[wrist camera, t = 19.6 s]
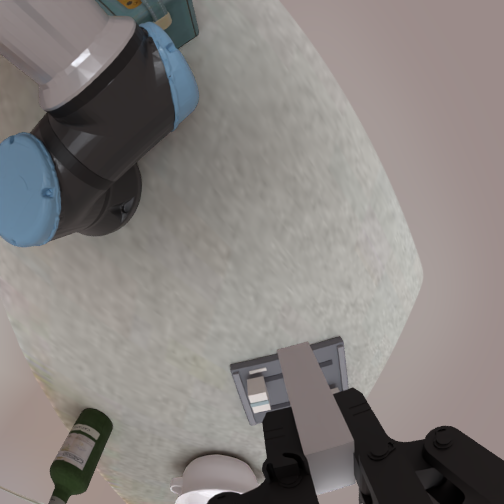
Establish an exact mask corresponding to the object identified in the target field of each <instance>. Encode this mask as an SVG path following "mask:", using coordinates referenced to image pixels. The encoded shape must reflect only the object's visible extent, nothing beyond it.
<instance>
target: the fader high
mask: <svg viewBox="0 0 504 504" xmlns="http://www.w3.org/2000/svg"><path fill="white" fill-rule="evenodd" d="M247 388H248V397H249V400H250V405H251V407H252V409H253V412H254V413H258V412H263V411H267V410H271V407H270V401H269V396H268V391H267V388H266V384H265V381H264V377H263V376H261V377H257V378H252V379H247Z"/></svg>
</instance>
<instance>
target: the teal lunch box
mask: <svg viewBox="0 0 504 504" xmlns="http://www.w3.org/2000/svg"><path fill="white" fill-rule="evenodd" d="M95 1H96V2H97V3H98V4H99V6H100V7H101V8H102V9H103V10H104V11H105V12H106V14H107V15H109V16H129V17H132V18H133V19H134V21H135V22H136V23H137V24H138V26H139V25H140V24H142V23H146V22H153V23H155V24H157V25H158V26H159V27H161V28H162V29H163V30H164V31H165V32H166V33H167V34H168V36H169V37H170V38H171V40H172V41H173V43H174V45H175V48H177V49H178V48H179V47H181V46H182V45H183V44H185V43H186V42H188V41H189V40H191V39H192V38H194V37H195V36H197V35H198V33H199V30H198V25H197V21H196V16H195V12H194V7H193V3H192V0H101V1H102V2H103V3H102V2H101V1H100V0H95Z"/></svg>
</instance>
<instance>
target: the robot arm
mask: <svg viewBox="0 0 504 504" xmlns="http://www.w3.org/2000/svg"><path fill="white" fill-rule="evenodd" d="M0 54H1V55H2V56H4V57H5V58H6V59H8V60H9V61H10V62H11V63H13V64H14V65H15V66H16V67H18V68H19V69H20V70H21V71H23V72H24V73H25V74H26V75H28V76H29V77H30V78H31V79H33V80H34V81H35V82H36V83H38V85H39V104H40V107H41V108H42V109H43V110H44V111H46V112H47V113H46V114H45V116H44V117H43V118H42V119H41V120H40V121H39V123H38V124H37V125H36V126H35V127H34V129H33V130H32V131H31V132H30V133H26V132H22V133H18V134H16V135H13V136H10V137H8V138H6V139H5V140H4V141H3V142H2V143H1V144H0V236H1V237H2V238H3V239H4V240H6V241H7V242H8V243H10V244H12V245H14V246H18V247H31V246H40V245H44V244H46V243H47V242H49V241H52V240H55V239H58V238H61V237H63V236H66V235H69V234H72V233H75V232H78V233H81V234H83V235H87V236H103V235H107V234H109V233H112V232H114V231H116V230H118V229H120V228H121V227H123V226H124V225H125V224H126V223H127V222H128V221H129V220H130V219H131V217H132V216H133V214H134V213H135V211H136V209H137V206H138V204H139V201H140V196H141V186H142V184H141V176H140V171H139V168H138V166H137V164H136V162H137V161H138V160H139V159H140V158H141V157H142V156H144V155H145V154H146V153H147V152H148V151H149V150H150V149H151V148H152V147H154V146H155V145H156V144H157V143H158V142H159V141H160V140H162V139H163V138H164V137H165V136H166V135H167V134H169V133H170V132H173V131H174V130H175V129H176V128H177V126H178V124H179V123H180V122H181V121H183V120H184V119H185V118H186V117H187V116H188V115H189V114H191V113H192V112H193V111H194V109H195V108H196V106H197V104H198V101H199V91H198V87H197V83H196V81H195V78H194V76H193V74H192V71H191V69H190V67H189V66H188V64H187V62H186V60H185V58H184V57H183V55H182V54H181V52H180V51H179V50H178V49H177V48H175V45H174V43H173V41H172V40H171V38H170V37H169V36H168V34H167V33H166V32H165V31H164V30H163V29H162V28H161V27H159V26H158V25H157V24H155V23H153V22H146V23H142V24H140V25H139V26H138V24H137V23H136V22H135V21H134V19H133V18H132V17H129V16H109V15H107V14H106V12H105V11H104V10H103V9H102V8H101V7H100V6H99V4H98V3H97V2H96V1H95V0H0ZM277 353H278V357H279V361H280V365H281V369H282V373H283V378H284V382H285V386H286V390H287V394H288V398H289V401H290V405H291V407H287V408H283V409H279V410H274V411H270V412H266V414H265V417H264V419H263V421H262V424H263V431H264V439H265V447H266V454H267V459H266V460H265V462H264V463H263V467H262V472H263V474H264V476H265V478H266V479H265V481H264V482H263V483H262V484H261V485H259V486H258V487H256V488H255V489H253V490H250V491H248V492H245V493H243V494H239V493H236V492H232V491H229V492H222V493H219V494H216V495H214V496H213V497H212V498H210V499H209V501H208V502H207V504H319V502H318V499H317V495H319V494H322V493H326V492H330V491H333V490H337V489H340V488H343V487H346V486H350V485H353V484H355V479H356V481H357V484H358V486H359V504H361V503H363V504H504V460H502V459H501V458H499V457H497V456H496V455H495V454H493V453H492V452H490V451H489V450H487V449H486V448H484V447H483V446H481V445H480V444H478V443H477V442H475V441H474V440H473V439H471V438H470V437H468V436H467V435H465V434H464V433H462V432H461V431H459V430H458V429H456V428H454V427H452V426H441V427H437V428H435V429H433V430H431V431H430V432H429V433H428V434H427V435H426V437H425V439H423V440H418V441H412V442H398V441H395V440H393V439H391V438H390V437H388V435H387V434H386V433H385V431H384V429H383V428H382V426H381V424H380V423H379V421H378V419H377V418H376V416H375V414H374V412H373V411H372V410H371V407H370V406H369V404H368V403H367V401H366V399H365V397H364V396H363V394H362V393H361V392H359V391H358V390H356V389H354V388H350V389H347V390H344V391H341V392H338V393H335V394H332V392H331V390H330V387H329V385H328V383H327V381H326V379H325V377H324V375H323V372H322V370H321V368H320V366H319V364H318V362H317V360H316V357H315V355H314V353H313V351H312V349H311V347H310V345H309V343H308V342H304V343H301V344H297V345H293V346H289V347H285V348H282V349H278V350H277Z"/></svg>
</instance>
